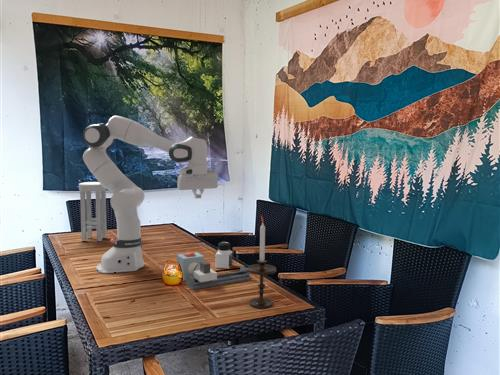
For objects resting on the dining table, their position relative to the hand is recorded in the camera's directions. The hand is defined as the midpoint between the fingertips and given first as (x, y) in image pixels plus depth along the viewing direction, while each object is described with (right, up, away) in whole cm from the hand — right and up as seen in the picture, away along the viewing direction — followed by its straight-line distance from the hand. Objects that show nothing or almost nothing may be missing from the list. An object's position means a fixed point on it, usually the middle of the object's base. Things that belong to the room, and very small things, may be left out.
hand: (198, 198), depth 215 cm
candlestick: (+30, -40, -45) cm, 67 cm away
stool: (-70, -27, +55) cm, 93 cm away
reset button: (-2, -29, -13) cm, 32 cm away
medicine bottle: (+13, -34, +4) cm, 37 cm away
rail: (+11, -37, -20) cm, 43 cm away
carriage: (+6, -34, -23) cm, 42 cm away
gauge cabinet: (-2, -36, -13) cm, 38 cm away
